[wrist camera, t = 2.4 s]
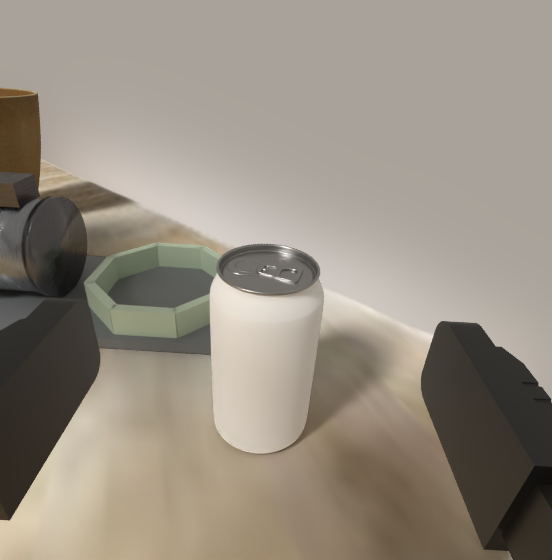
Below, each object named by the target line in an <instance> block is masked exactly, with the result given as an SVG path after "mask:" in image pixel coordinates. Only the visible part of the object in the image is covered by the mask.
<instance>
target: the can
mask: <svg viewBox="0 0 552 560" xmlns="http://www.w3.org/2000/svg"><path fill="white" fill-rule="evenodd" d="M216 269H217V274H216V276H215V278H214V280H213V282H212V284H211V287H210V336H211V365H212V391H213V413H214V422H215V426H216V428H217V430H218V432H219V434H220V435H221V436H222V438H223V439H224V440H225V441H226V442H228V443H229V444H230V445H232V446H233V447H235V448H237V449H240V450H242V451H245V452H249V453H256V454H265V453H272V452H276V451H279V450H282V449H284V448H286V447H288V446H290V445H291V444H292V443H294V442H295V441H296V440H297V439H298V438H299V436H300V435H301V434H302V432H303V430H304V427H305V424H306V420H307V414H308V408H309V402H310V395H311V388H312V382H313V375H314V368H315V361H316V354H317V347H318V340H319V333H320V326H321V319H322V312H323V303H324V293H323V289H322V286H321V283H320V281H319V276H320V268H319V265H318V263H317V262H316V261H315V260H314V259H313V258H312V257H311V256H309V255H308V254H306V253H304V252H302V251H300V250H297V249H294V248H291V247H287V246H282V245H275V244H253V245H246V246H241V247H238V248H235V249H232V250H230V251H228V252H226V253H225V254H224V255H222V256H221V257H220V259H219V260H218V262H217V266H216Z"/></svg>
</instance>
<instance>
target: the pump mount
mask: <svg viewBox="0 0 552 560" xmlns="http://www.w3.org/2000/svg"><path fill="white" fill-rule="evenodd" d="M221 256H222V255H220V254H218V253H217V252H215V251H213V250H212V249H210V248H208V247H207V246H204V245H189V244H174V243H158V242H157V243H152V244H149V245H145V246H141V247H138V248H134V249H130V250H127V251H123V252H119V253H116V254H112V255H109V256H107V257H102V256H86V262H85V266H84V270H83V273H82V275H81V278H80V280H79V282H78V283H77V285H76V286H75V288H74V289H73V290H72V291H71V292H69V293H68V294H66V295H64V296H47V295H43V294H41V293H40V292H34V291H18V290H2V291H0V330H2V329H4V328H5V327H7V326H9V325H11V324H12V323H14V322H16V321H18V320H20V319H25V318H26V317H27V316H28V315H29V314H30V313H31V312H33V311H34V310H35V309H36V308H37V307H38V306H39V305H40V304H41V303H42V302H43V301H44V300H45V299H47V298H60V299H78V300H85V301H86V302H87V303H88V305H89V307H90V311H91V315H92V320H93V324H94V329H95V333H96V337H97V342H98V346H99V348H114V349H130V350H146V351H162V352H177V353H193V354H209V355H211V336H210V287H211V284H212V282H213V280H214V278H215V276H216V274H217V269H216V266H217V262H218V260H219V259H220V257H221Z"/></svg>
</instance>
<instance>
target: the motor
mask: <svg viewBox="0 0 552 560" xmlns="http://www.w3.org/2000/svg"><path fill="white" fill-rule="evenodd" d="M39 196H40V195H39V191H38V187H37V183H36V179H35V176H34V174H29V173H14V172H0V291H2V290H18V291H34V292H40V293H41V294H43V295H47V296H64V295H66V294H68V293H69V292H71V291H72V290H73V289H74V288H75V286H76V285H77V283H78V282H79V280H80V278H81V275H82V273H83V270H84V266H85V262H86V255H87V235H86V229H85V225H84V221H83V218H82V216H81V213H80V212H79V210H78V208H77V207H76V205H75V204H74V203H73V202H71V201H70V200H69V199H67V198H63V197H46V198H44V199H36V198H38V197H39Z"/></svg>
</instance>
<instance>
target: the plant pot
mask: <svg viewBox="0 0 552 560" xmlns="http://www.w3.org/2000/svg"><path fill="white" fill-rule="evenodd" d="M40 139H41V135H40V117H39V102H38V93H37V92H34V91H30V90H22V89H10V88H0V172H14V173H29V174H34V176H35V179H36V183H37V187H39V177H40V159H41V157H40V156H41V155H40V154H41V140H40ZM36 199H37V198H36Z"/></svg>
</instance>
